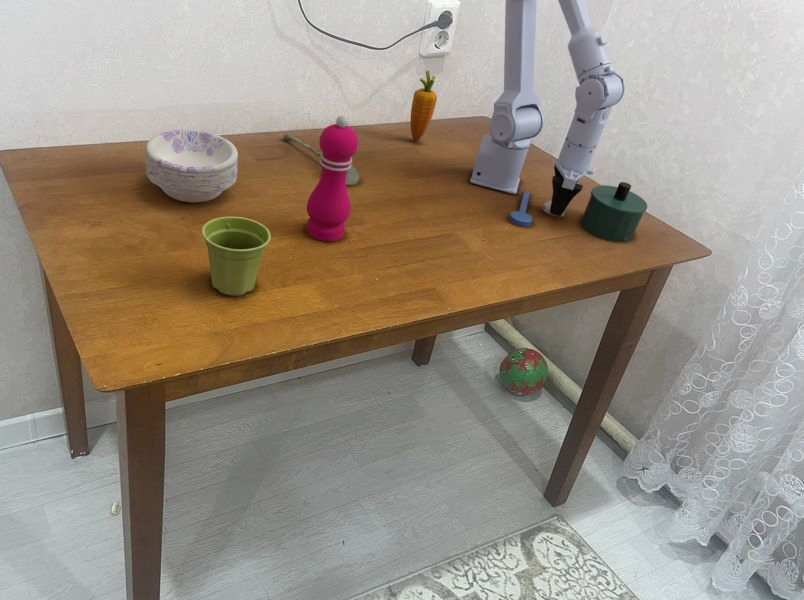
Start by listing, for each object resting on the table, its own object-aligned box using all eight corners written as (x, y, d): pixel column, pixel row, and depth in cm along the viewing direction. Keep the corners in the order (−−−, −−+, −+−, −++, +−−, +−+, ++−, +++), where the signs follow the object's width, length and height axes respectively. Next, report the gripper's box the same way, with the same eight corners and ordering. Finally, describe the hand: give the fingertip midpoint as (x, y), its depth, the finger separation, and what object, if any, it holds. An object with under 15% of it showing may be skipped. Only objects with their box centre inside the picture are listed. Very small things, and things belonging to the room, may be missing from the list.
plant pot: (202, 264, 107) (204, 212, 101) (265, 269, 108) (270, 219, 103) (197, 300, 99) (199, 246, 94) (265, 305, 101) (270, 253, 95)
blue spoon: (507, 222, 133) (509, 218, 132) (515, 192, 144) (517, 187, 143) (529, 228, 132) (531, 224, 131) (536, 197, 143) (537, 193, 143)
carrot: (425, 148, 155) (441, 78, 145) (402, 143, 155) (417, 73, 146) (427, 140, 159) (443, 72, 149) (405, 135, 159) (420, 66, 150)
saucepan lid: (589, 207, 131) (597, 188, 128) (590, 185, 139) (597, 167, 136) (646, 222, 129) (655, 203, 127) (644, 199, 137) (652, 181, 135)
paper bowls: (157, 214, 116) (157, 169, 111) (138, 172, 126) (137, 129, 121) (247, 208, 122) (250, 165, 117) (221, 168, 132) (223, 127, 127)
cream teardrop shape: (555, 208, 141) (560, 197, 139) (570, 221, 137) (574, 209, 136) (537, 209, 139) (541, 197, 138) (551, 222, 136) (556, 210, 134)
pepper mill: (351, 229, 122) (372, 115, 109) (337, 247, 116) (357, 129, 104) (312, 217, 123) (328, 103, 111) (297, 235, 118) (312, 117, 105)
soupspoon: (338, 191, 134) (364, 187, 138) (341, 175, 132) (368, 171, 135) (273, 140, 145) (299, 137, 149) (275, 124, 143) (301, 122, 147)
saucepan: (580, 232, 134) (592, 204, 130) (582, 210, 142) (593, 183, 138) (632, 246, 133) (645, 218, 129) (631, 224, 140) (643, 197, 137)
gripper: (603, 161, 123) (575, 230, 131) (603, 134, 134) (578, 199, 142) (562, 151, 124) (537, 220, 132) (566, 124, 135) (543, 189, 144)
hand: (556, 208), depth 137 cm, fingers closed on cream teardrop shape, 4 cm apart
